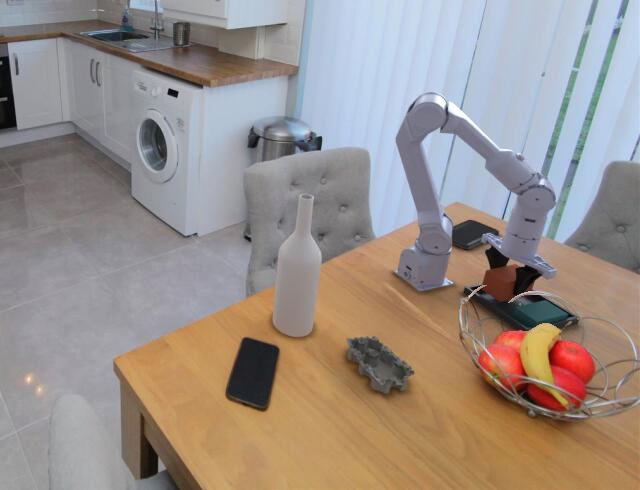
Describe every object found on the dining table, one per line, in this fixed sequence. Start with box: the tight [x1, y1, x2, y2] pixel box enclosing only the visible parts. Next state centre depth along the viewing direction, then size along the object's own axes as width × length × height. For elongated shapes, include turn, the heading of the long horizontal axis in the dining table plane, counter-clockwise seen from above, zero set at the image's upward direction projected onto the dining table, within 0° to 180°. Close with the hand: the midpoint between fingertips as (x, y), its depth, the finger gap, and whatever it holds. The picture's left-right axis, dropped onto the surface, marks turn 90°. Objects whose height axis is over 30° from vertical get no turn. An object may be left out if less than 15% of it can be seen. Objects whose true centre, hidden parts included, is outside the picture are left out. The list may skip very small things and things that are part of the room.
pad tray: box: [463, 282, 581, 331], centre depth 102 cm, size 13×14×2 cm
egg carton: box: [346, 335, 415, 395], centre depth 88 cm, size 11×8×4 cm
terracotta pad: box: [481, 263, 536, 302], centre depth 104 cm, size 8×5×5 cm, turn 104°
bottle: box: [272, 193, 323, 338], centre depth 95 cm, size 8×8×30 cm
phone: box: [452, 219, 500, 251], centre depth 129 cm, size 8×1×15 cm
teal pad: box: [512, 300, 568, 328], centre depth 98 cm, size 8×4×2 cm, turn 104°
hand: (506, 287), depth 104 cm, fingers closed on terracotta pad, 4 cm apart
